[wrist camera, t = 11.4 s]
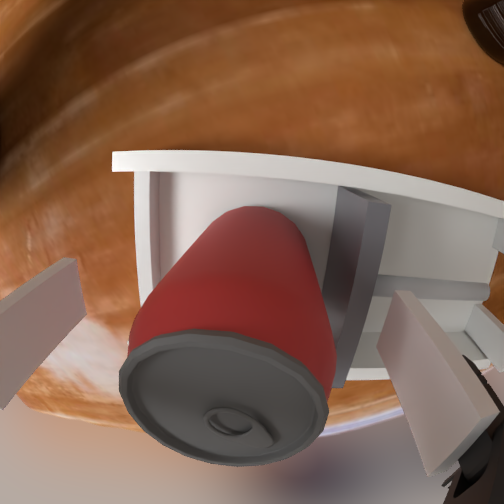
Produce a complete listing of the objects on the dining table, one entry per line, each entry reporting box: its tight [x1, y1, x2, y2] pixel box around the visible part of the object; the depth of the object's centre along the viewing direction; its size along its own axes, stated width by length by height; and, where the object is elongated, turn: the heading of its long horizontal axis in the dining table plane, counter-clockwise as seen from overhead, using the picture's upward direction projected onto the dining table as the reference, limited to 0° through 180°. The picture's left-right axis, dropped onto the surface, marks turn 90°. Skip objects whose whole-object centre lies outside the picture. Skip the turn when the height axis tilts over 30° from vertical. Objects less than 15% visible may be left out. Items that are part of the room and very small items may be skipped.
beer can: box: [119, 206, 337, 467], centre depth 12 cm, size 7×7×12 cm
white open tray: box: [112, 150, 504, 380], centre depth 15 cm, size 26×12×7 cm, turn 86°
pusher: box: [321, 186, 490, 388], centre depth 14 cm, size 11×9×6 cm
